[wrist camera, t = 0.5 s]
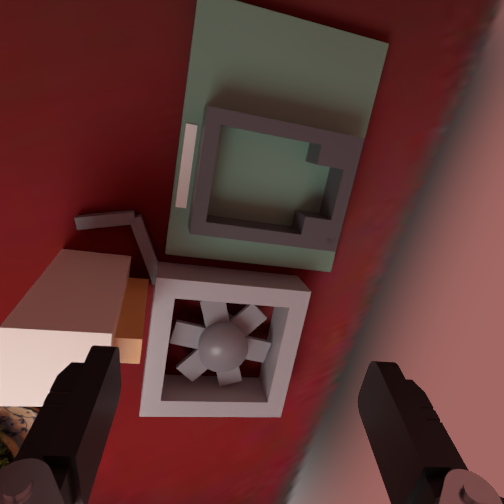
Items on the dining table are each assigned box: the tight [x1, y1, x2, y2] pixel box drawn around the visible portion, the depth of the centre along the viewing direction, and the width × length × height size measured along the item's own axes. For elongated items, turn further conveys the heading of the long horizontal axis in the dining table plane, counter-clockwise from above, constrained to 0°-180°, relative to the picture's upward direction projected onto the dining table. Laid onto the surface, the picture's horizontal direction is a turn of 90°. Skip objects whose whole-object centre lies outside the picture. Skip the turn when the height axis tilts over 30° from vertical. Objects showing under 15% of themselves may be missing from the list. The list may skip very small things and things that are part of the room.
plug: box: [0, 249, 149, 407], centre depth 25 cm, size 4×6×12 cm
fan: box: [74, 210, 311, 417], centre depth 31 cm, size 16×18×4 cm
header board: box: [165, 0, 389, 272], centre depth 29 cm, size 18×14×4 cm
